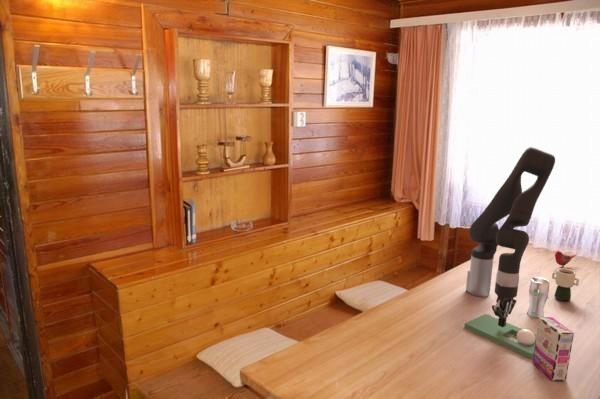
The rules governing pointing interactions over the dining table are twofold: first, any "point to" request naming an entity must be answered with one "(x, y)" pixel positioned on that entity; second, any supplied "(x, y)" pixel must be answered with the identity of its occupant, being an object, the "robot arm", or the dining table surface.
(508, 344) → the putting mat
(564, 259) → the decorative bird figurine
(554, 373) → the candy bar box
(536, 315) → the beer glass
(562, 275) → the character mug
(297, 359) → the dining table surface
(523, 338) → the ball
